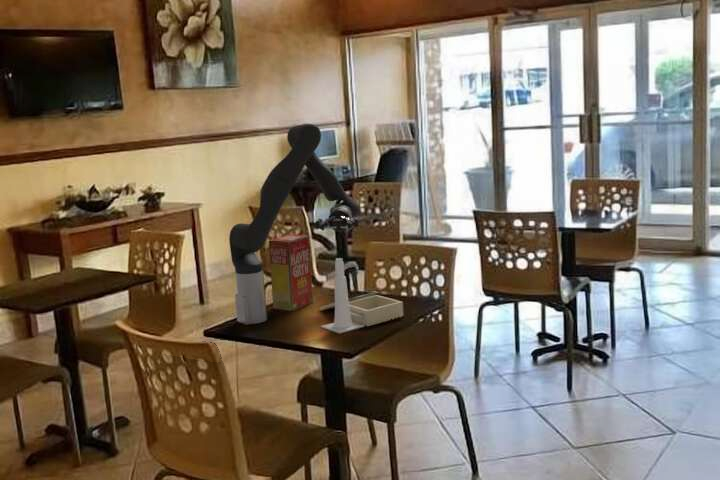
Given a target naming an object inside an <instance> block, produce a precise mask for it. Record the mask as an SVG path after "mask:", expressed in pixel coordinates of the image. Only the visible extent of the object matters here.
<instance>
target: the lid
mask: <svg viewBox="0 0 720 480" xmlns="http://www.w3.org/2000/svg"><path fill="white" fill-rule="evenodd" d="M370 293H371V292H370ZM370 293H368V294H370ZM372 293H374V292H372ZM366 294H367V293H366ZM366 294H364V295H366ZM371 296H374V295H371ZM367 297H370V296H367ZM363 298H366V297H363ZM359 299H362V298H359ZM355 300H358V299H355ZM351 301H354V300H351ZM349 302H350V301H349ZM333 307H335V301H334V302H332V303H329V304H326V305H322V306H319V310H320V311H321V310H325V309H328V308H329V309H330V308H333Z"/></svg>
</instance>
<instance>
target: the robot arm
mask: <svg viewBox="0 0 720 480" xmlns="http://www.w3.org/2000/svg"><path fill="white" fill-rule="evenodd" d="M286 137H287V138H286V139H287V143H288V145H289V147H290V148H291V149H290V150H289V152H288V153H287V155H285V157H284V158H282V160H281V161H279V162H278V163H277V164H276V165H275V166H274V167H273V168H272V169H271V171H270V172H269V173H268V175H267V177H266V179H265V180H264V182H263V184H262V186H261V188H260V195H259V197H260V198H259V208H258V210H257V213H256V214H255V216H254V218H253V220H252V221H251V222H250V223H244V222H243V223H237V224H234V226H232V228H231V230H230V232H229V236H228V237H229V238H228V239H229V249H230V256H231V262H232V265H233V266H234V272H235V279H236V280H235V281H236V282H235V284H236V292H237V293H236V294H235V295H234V298H235V309H236V321H237V323H238V322H239V323H241V324H243V325H255V324H260V323H261V324H262V323H263V322H264V323H265V322H266V321H267V320H268V315H267V313H268V312H267V303H266V302H267V301H266V290H265V279H264V264H263V262H262V260H261V259H259V258H258V257H257V256H256V254H255V253H257V252H258V251H260V250H261V249H263V247H264V245H265V243H266V241H267V239H268V236H269V234H270V232H271V229H272V227H273V225H274V222H275V221H276V219H277V217H278V215H279V213H280V211H281V209H282V207H283V206H284V203H285V202H286V200H287V198H288V197H289V194H290V193H291V191H292V190H293V188H294V185H295V183H296V182H297V180H298V178H299V177H300V174H301V173H302V171H303V169H304V167H306V168H307V169H308V171H309V172H310V174H311V175H312V177H313V178H314V179H315V182H316V183H317V185H318V186H319V188H320V190H321V192H322V193H323V195H324V197H325V198H326V200H327V201H328V202H335V201H341V202H339V203H337V204H335V205H334V206H332V207H330V210H329V214H328V215H329V216H328V218H325V219H324V220H323V219H322V218H318V219H316V221H315V229H316V230H321V231H325V230H333V231H335V232H344V231H346V230H350V229H352V228H354V227H355V228H359V227H360V225H359V221H360V220H359V216H358V215H359V213H360V208H359V205H358V204H357V202H356V201H355V199H353V198H352V197H351V196H350V195H349V194H348V193H347V192H346V191H345V190H344V188H343V186H342V185H341V182H340V181H339V179H338V177H337V175H336V174H335V173H334V172H333V171H332V170H331V168H330V167H329V166H327V164H326V163H324V161H322V160H321V158H320V157H319V156H318V154H316V152H315V151H316V149H317V148H318V147H319V145H320V143H321V138H322V133H321V130H320V128H319V126H317V125H316V124H315V123H311V122H310V123H303V124H297V125H294V126H292V127H290V128H289V130H288V131H287V136H286Z"/></svg>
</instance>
